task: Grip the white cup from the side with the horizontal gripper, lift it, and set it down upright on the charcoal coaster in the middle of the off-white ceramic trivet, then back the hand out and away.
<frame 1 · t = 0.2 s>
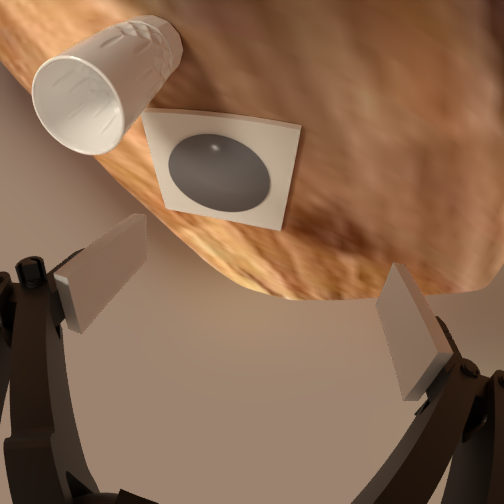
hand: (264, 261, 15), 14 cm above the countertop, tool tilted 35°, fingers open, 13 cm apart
trivet: (220, 171, 30), on the countertop
white cup: (148, 47, 19), on the countertop
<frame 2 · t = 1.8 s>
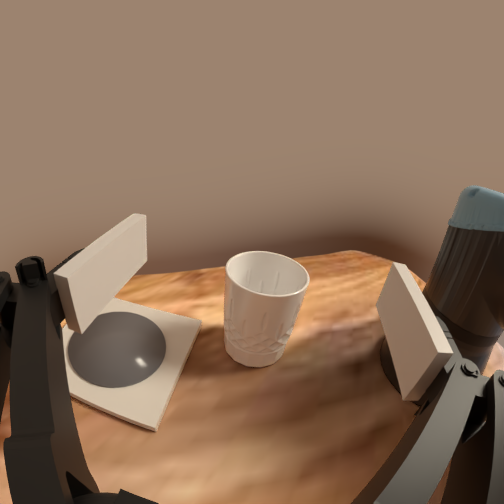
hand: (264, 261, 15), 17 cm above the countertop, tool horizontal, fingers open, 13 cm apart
trivet: (117, 351, 28), on the countertop
white cup: (253, 347, 32), on the countertop
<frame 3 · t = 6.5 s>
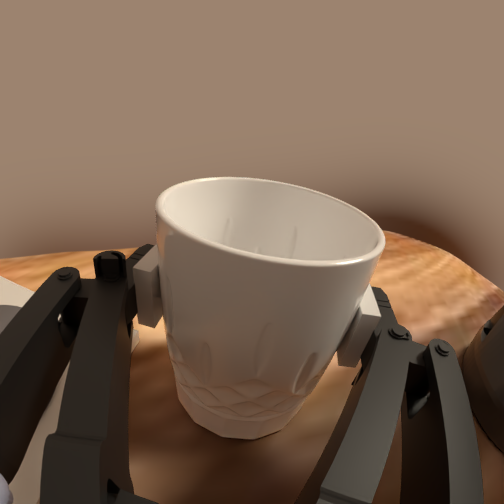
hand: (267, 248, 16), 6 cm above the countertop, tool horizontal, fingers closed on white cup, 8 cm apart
white cup: (239, 389, 15), on the countertop, touching gripper
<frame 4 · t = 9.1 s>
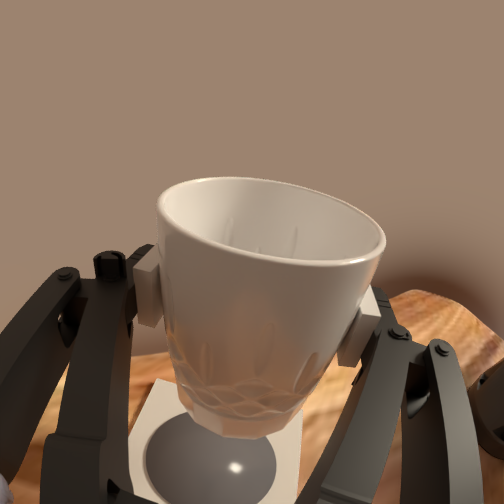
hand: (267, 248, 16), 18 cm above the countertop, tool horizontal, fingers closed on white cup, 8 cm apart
trivet: (210, 464, 20), on the countertop
white cup: (240, 389, 15), point 12 cm above the countertop, touching gripper
when the fingers open (8 cm above the countertop, at t = 11.9 s): white cup drops 1 cm, resting on trivet.
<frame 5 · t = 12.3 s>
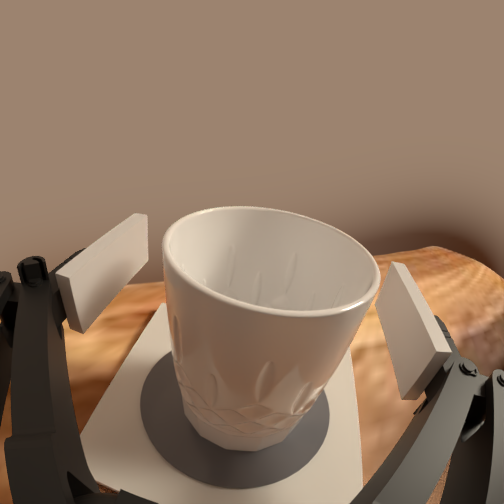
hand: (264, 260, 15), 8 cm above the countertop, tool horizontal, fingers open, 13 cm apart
trivet: (235, 409, 16), on the countertop
white cup: (242, 403, 15), point 1 cm above the countertop, touching trivet
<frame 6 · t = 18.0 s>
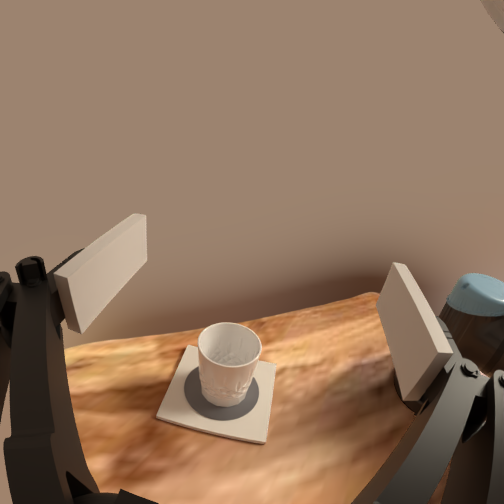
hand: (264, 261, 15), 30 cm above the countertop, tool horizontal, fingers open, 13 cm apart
trivet: (221, 392, 40), on the countertop
white cup: (223, 390, 39), point 1 cm above the countertop, touching trivet
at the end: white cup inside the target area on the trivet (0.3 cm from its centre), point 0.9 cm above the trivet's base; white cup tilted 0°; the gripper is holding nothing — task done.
